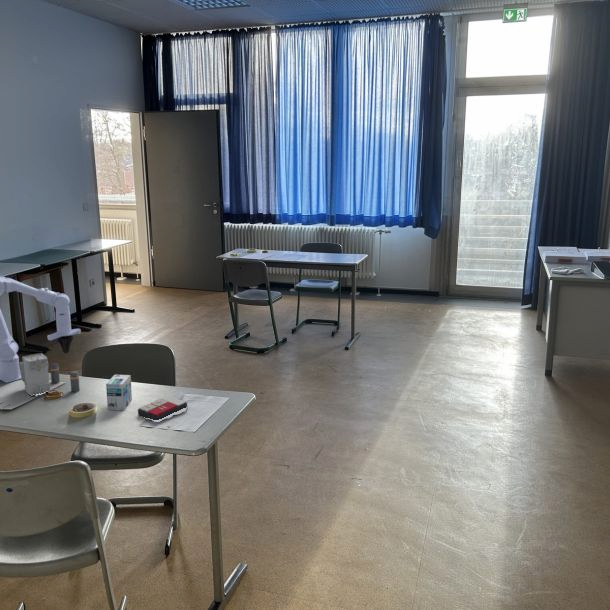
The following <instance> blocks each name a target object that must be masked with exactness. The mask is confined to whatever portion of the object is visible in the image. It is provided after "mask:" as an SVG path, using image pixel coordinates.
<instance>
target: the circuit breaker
mask: <svg viewBox="0 0 610 610" xmlns="http://www.w3.org/2000/svg"><path fill="white" fill-rule="evenodd" d="M21 359H22V361H19V367H20V375H21V379H20V380H21V381H22V382H23V383H24V390H25V391H26V392H27V393H28V394H29V395H32V396H33V394H35V395H36V394H39V393H40V394H41V393H44V392H46V391H50V390H51V383H50V378H49V369H50V368H49V367H50V366H49V361H48V357H47V356H46V355H45V354H43V352H41V353H35V354H28V355H23V356H21ZM50 392H51V391H50ZM27 393H26V394H27ZM28 394H27V395H28ZM29 395H28V396H29Z"/></svg>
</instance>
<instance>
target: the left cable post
mask: <svg viewBox="0 0 610 610" xmlns="http://www.w3.org/2000/svg"><path fill="white" fill-rule="evenodd" d="M49 365H50V366H49V367H50V368H49V369H50V378H51V380H50V381H51V384H58V383H60V382H61V381H60V380H61V379H60V367H59V363H58V362H53V363H50V364H49Z"/></svg>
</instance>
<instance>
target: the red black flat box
mask: <svg viewBox="0 0 610 610" xmlns="http://www.w3.org/2000/svg"><path fill="white" fill-rule="evenodd" d="M186 407H187V408H188V403H187V401H184V400H181V399H180V398H179V399H178V398H176V397H173V396H170V395H166V396H164V397H162V398H158V399H156V400H154V401H151V402H150V403H147V404H144V405H142V406H140V407H139V408H137V414H138V415H139V416H138V415H137V416H138V417H140V416H142V417H141V418H143V417H145V418H150V419H153V420H159V419H162V418H164V417H166V416H168V415H170V414H172V413H174V412H177V411H179V410H181V409H183V408H186ZM145 418H144V419H145Z"/></svg>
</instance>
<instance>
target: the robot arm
mask: <svg viewBox="0 0 610 610" xmlns="http://www.w3.org/2000/svg"><path fill="white" fill-rule="evenodd" d="M5 291H6V292H5ZM11 292H18V293H22V294H24V295H27V296H32V297H34V298H35V299H36V301H37V302H41V303H43V304H47V305H49V306H53V307H54V308H55V322H56V332H54V333H51V334H48V335H47V340H48V341H53V340H57V341H58V343H59V346H60V347H61V350H62V353H64V354H68V353H69V351H70V346H71V344H72V341H73V340H74V337H73V335H78V334H79V335H80V334H82V330H81V328H73V329H72V322H71V321H72V320H71V311H70V302H71V300H70V297H69V296H68V294H65V293H62V292H61V293H60V292H59V291H58V292H56V291H52V290H49V287H44V288H43V287H41V288H37V287H36V288H35V287H33V286H30V285H27V284H26V283H23V282H20V281H18V280H16V279H13V278H10V277H6V276H3V275H0V297H1V295H2V294H4V293H11ZM18 352H19V344H18V343H17V342H16V341H15V340H14V337H12V335H11V333H10V331H9V329H8V326H7V322H6V321H5V317H4V314H3V312H2V310H1V308H0V381H2V382H5V383H7V384H8V383H11V382H14V381H18V380H21V370H20V357H19V355H18Z"/></svg>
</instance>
